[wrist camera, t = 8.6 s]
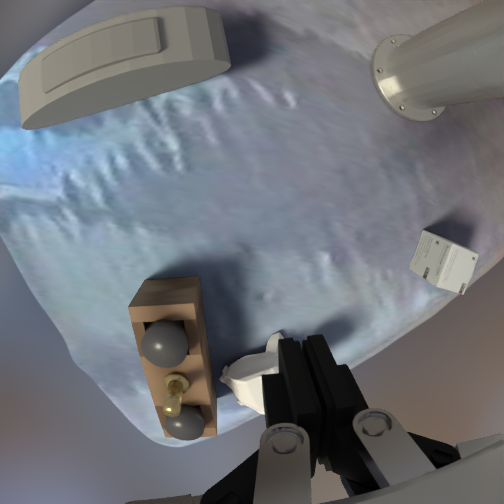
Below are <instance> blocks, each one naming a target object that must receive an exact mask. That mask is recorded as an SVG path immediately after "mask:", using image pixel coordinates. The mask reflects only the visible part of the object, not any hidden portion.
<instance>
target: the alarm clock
mask: <svg viewBox="0 0 504 504" xmlns="http://www.w3.org/2000/svg"><path fill="white" fill-rule="evenodd" d="M230 67H231V61H230V56H229V51H228V46H227V41H226V36H225V32H224V27H223V22H222V17H221V16H220V15H219V13H218V12H217V11H216V10H212V9H209V8H205V7H195V6H174V7H162V8H154V9H148V10H143V11H138V12H133V13H129V14H124V15H121V16H118V17H114V18H111V19H108V20H105V21H102V22H99V23H96V24H93V25H91V26H89V27H86V28H84V29H82V30H79V31H77V32H75V33H73V34H71V35H69V36H67V37H65V38H63V39H61V40H59V41H58V42H56V43H54V44H53V45H51V46H50V47H48V48H46V49H45V50H43V51H42V52H41V53H39V54H38V55H37V56H36V57H34V58H33V59H32V60H31V61H30V62H28V63H27V65H26V66H25V67H24V68H23V70H22V71H21V72H20V76H19V80H18V82H19V101H20V113H21V124H22V128H23V129H25V130H32V129H39V128H44V127H49V126H53V125H56V124H60V123H64V122H68V121H71V120H74V119H78V118H81V117H85V116H88V115H91V114H95V113H98V112H102V111H105V110H108V109H112V108H115V107H118V106H121V105H125V104H128V103H132V102H135V101H138V100H141V99H145V98H148V97H152V96H155V95H158V94H161V93H165V92H168V91H171V90H175V89H178V88H181V87H184V86H187V85H190V84H194V83H197V82H201V81H203V80H205V79H208V78H211V77H214V76H216V75H218V74H220V73H222V72H224V71H227V70H228V69H229V68H230Z"/></svg>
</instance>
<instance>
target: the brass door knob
mask: <svg viewBox="0 0 504 504" xmlns="http://www.w3.org/2000/svg"><path fill="white" fill-rule="evenodd" d="M163 387H164V389H165V390H166V391H167V392H166V397H165V402H164V407H163V412H164V414H166V415H167V416H169V417H177V416H178V415H179V414H180V409H181V402H182V395H183V394H184V393H186V392H187V391H188V389H189V380H188V379H187V377H186V376H184V375H183V374H181V373H176V372H173V373H169V374H167V375H166V376H165V377H164V380H163Z"/></svg>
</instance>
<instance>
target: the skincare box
mask: <svg viewBox="0 0 504 504" xmlns="http://www.w3.org/2000/svg"><path fill="white" fill-rule="evenodd" d="M478 256H479V253H477V252H475V251H473V250H471V249H468V248H466V247H464V246H462V245H459V244H457V243H455V242H453V241H451V240H448V239H446V238H443V237H441V236H438V235H436V234H433V233H431V232H428V231H425V230H423V231H422V233H421V237H420V240H419V243H418V245H417V248H416V251H415V254H414V256H413V258H412V261H411V263H410V266H409V269H411V270H412V271H414V272H415V273H417V274H418V275H420V276H421V277H423V278H424V279H426V280H427V281H429V282H430V283H432V284H433V285H435V286H437V287H440V288H443V289H446V290H450V291H453V292H456V293H459V294H464V292H465V290H466V287H467V285H468V283H469V280H470V279H471V277H472V274H473V271H474V267H475V265H476V262H477V259H478Z"/></svg>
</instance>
